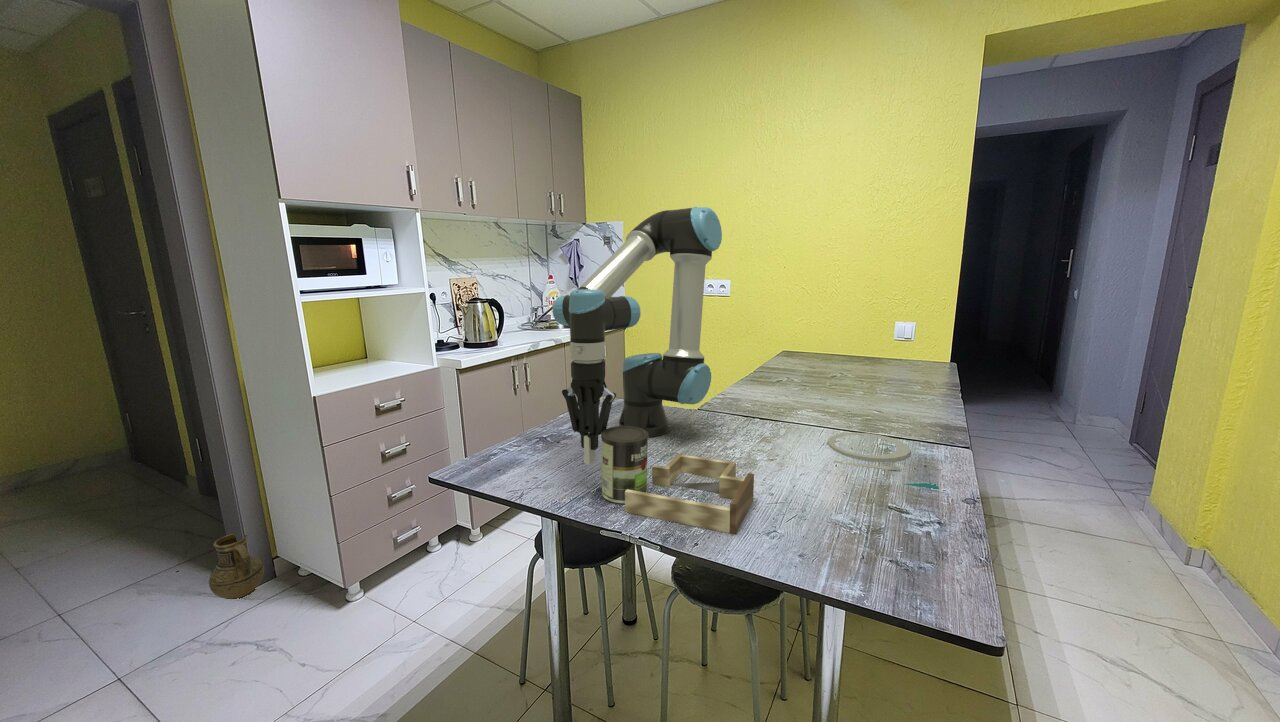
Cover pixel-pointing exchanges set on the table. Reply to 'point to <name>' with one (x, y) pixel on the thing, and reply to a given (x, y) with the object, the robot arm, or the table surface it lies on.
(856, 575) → the table surface
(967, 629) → the table surface
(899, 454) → the place mat
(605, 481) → the coffee can
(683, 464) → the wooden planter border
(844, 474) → the table surface
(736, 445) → the table surface
